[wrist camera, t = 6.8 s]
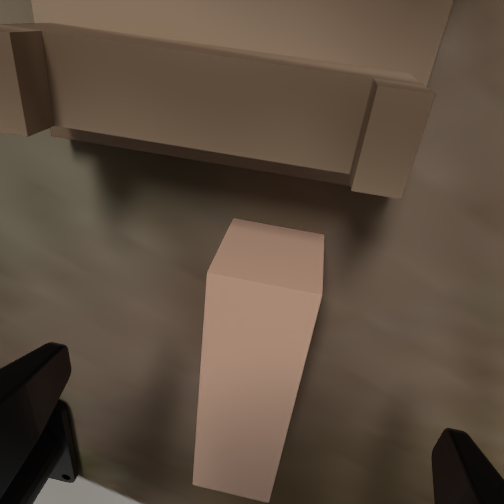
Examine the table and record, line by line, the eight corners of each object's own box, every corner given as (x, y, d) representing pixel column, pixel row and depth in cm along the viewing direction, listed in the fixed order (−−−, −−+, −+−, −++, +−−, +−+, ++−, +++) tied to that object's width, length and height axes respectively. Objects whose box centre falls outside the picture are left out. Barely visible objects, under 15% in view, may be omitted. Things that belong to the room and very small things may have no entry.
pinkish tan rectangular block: (278, 424, 18) (268, 503, 15) (214, 409, 19) (192, 484, 16) (324, 231, 13) (322, 294, 10) (234, 215, 14) (207, 272, 11)
